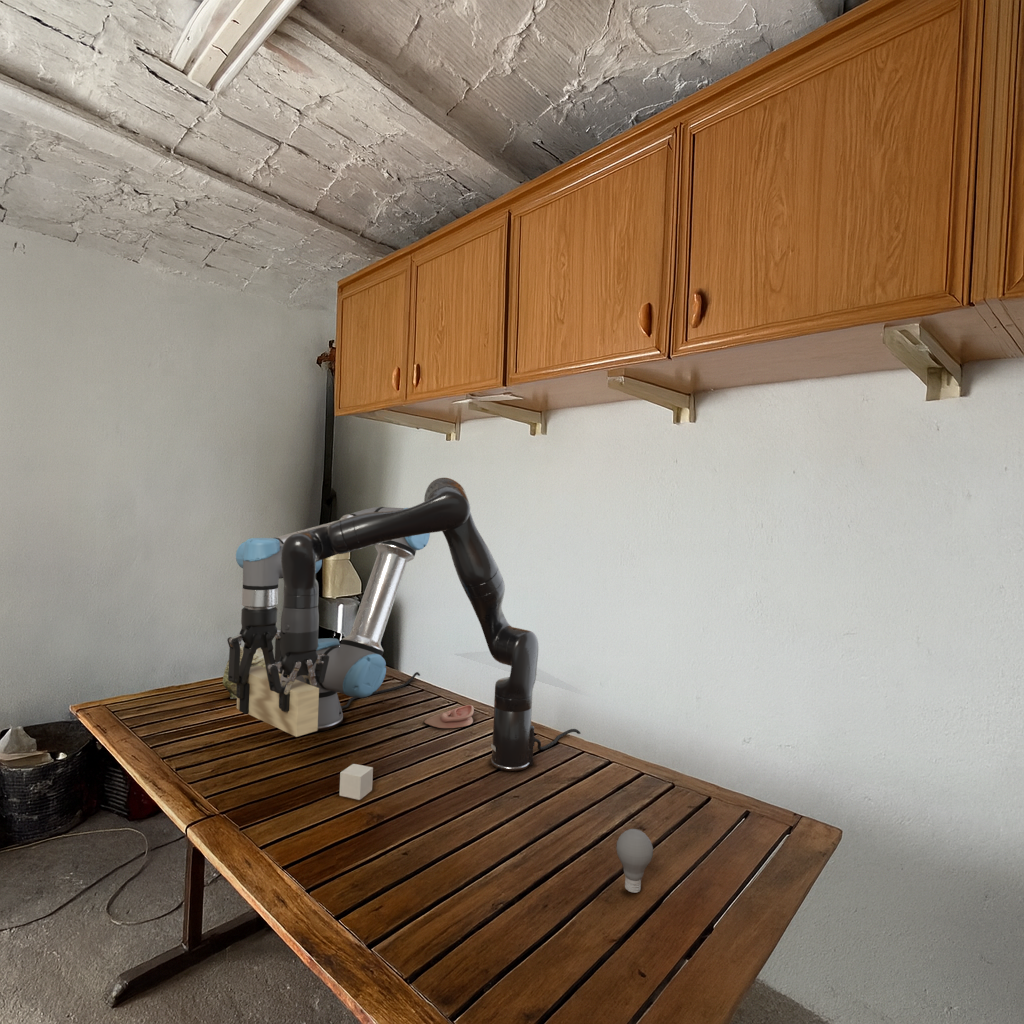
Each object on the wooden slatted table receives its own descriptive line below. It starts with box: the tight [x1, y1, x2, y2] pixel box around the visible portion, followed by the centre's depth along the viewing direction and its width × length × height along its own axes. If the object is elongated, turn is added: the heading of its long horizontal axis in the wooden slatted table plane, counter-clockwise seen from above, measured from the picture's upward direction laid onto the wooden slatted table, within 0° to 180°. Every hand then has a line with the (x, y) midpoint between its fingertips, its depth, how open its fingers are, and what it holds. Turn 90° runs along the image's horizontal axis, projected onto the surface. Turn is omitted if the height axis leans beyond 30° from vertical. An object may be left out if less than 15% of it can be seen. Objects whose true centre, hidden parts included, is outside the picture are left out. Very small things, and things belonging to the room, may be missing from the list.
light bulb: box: [615, 828, 654, 894], centre depth 106 cm, size 6×6×10 cm
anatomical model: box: [424, 704, 475, 729], centre depth 181 cm, size 13×4×12 cm
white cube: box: [338, 763, 374, 801], centre depth 136 cm, size 5×5×5 cm
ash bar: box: [236, 666, 319, 738], centre depth 138 cm, size 24×5×9 cm, turn 51°
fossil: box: [222, 646, 266, 699], centre depth 198 cm, size 9×18×15 cm, turn 132°
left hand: (256, 708), depth 143 cm, fingers closed on ash bar, 5 cm apart
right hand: (296, 707), depth 133 cm, fingers closed on ash bar, 5 cm apart
